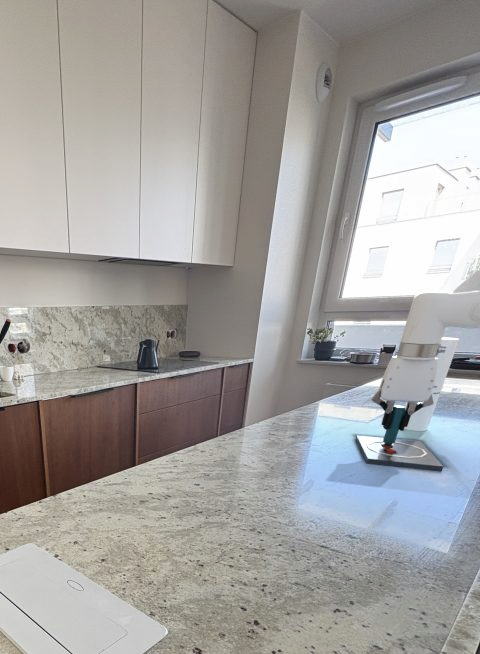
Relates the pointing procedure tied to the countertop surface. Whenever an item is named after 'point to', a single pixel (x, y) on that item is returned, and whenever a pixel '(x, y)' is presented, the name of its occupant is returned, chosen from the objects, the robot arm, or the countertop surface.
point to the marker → (394, 425)
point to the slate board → (398, 453)
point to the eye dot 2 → (390, 451)
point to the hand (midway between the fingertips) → (393, 428)
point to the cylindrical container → (424, 415)
